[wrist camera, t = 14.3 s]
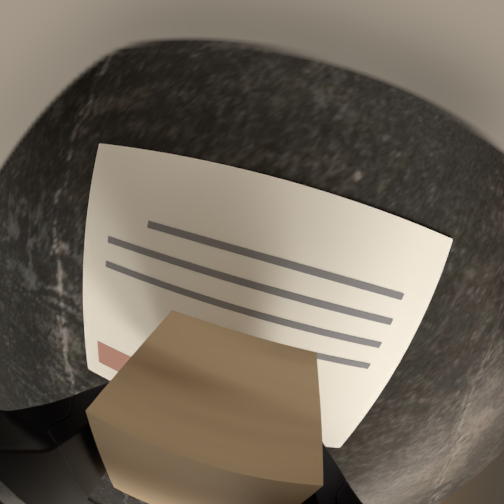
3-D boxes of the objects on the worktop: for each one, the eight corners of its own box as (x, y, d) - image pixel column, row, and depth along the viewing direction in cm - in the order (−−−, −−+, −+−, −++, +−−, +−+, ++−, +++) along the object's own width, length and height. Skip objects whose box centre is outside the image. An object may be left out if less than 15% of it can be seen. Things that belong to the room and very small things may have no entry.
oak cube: (272, 435, 10) (257, 533, 5) (163, 402, 10) (114, 487, 6) (316, 352, 9) (323, 485, 4) (172, 310, 9) (85, 410, 4)
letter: (339, 446, 13) (339, 448, 12) (88, 367, 14) (87, 369, 14) (452, 238, 9) (453, 239, 9) (100, 143, 10) (99, 143, 10)
